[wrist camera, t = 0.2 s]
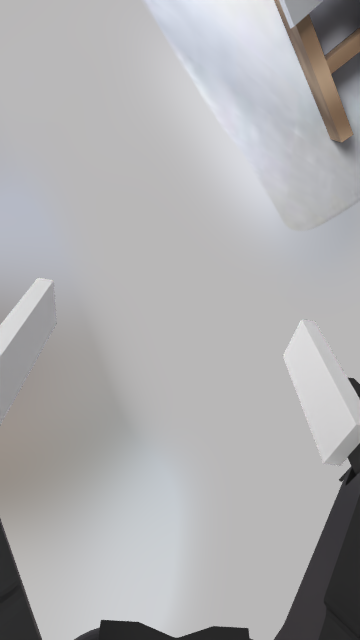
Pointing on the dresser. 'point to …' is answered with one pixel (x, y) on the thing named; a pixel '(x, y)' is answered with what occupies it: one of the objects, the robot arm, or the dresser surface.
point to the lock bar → (298, 9)
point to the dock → (323, 71)
